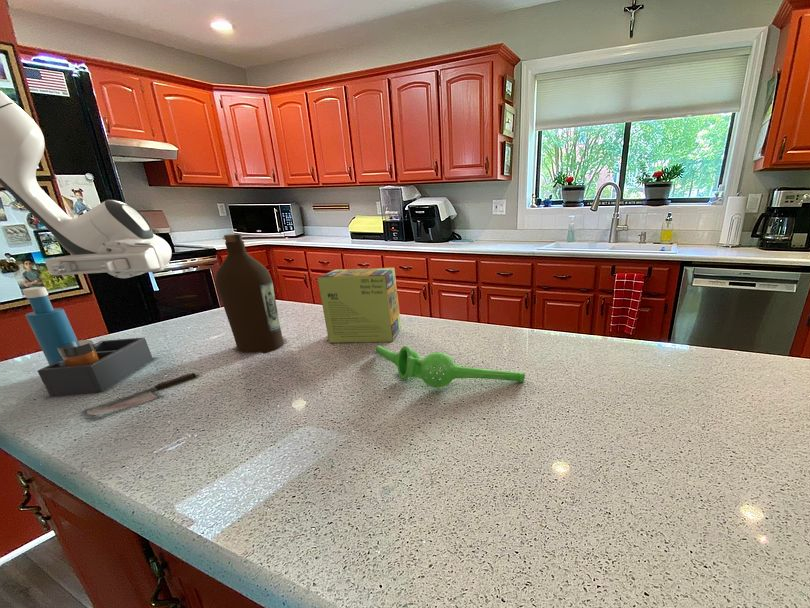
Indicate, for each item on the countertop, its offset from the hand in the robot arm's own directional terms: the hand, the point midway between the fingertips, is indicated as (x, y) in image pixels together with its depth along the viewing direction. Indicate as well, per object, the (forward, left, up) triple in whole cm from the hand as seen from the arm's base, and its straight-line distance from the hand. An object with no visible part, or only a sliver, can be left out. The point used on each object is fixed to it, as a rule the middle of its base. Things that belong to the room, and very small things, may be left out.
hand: (79, 268), depth 84 cm
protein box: (+46, -34, -19) cm, 61 cm away
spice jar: (-4, -22, -19) cm, 29 cm away
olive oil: (+25, -23, -19) cm, 39 cm away
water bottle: (-7, -10, -19) cm, 23 cm away
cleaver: (+3, -36, -19) cm, 41 cm away
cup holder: (-2, -19, -19) cm, 27 cm away
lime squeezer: (+42, -65, -19) cm, 80 cm away
